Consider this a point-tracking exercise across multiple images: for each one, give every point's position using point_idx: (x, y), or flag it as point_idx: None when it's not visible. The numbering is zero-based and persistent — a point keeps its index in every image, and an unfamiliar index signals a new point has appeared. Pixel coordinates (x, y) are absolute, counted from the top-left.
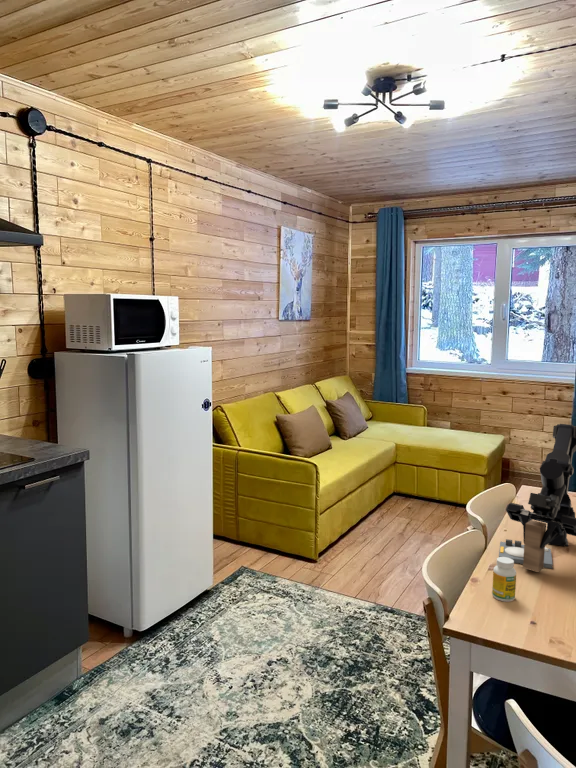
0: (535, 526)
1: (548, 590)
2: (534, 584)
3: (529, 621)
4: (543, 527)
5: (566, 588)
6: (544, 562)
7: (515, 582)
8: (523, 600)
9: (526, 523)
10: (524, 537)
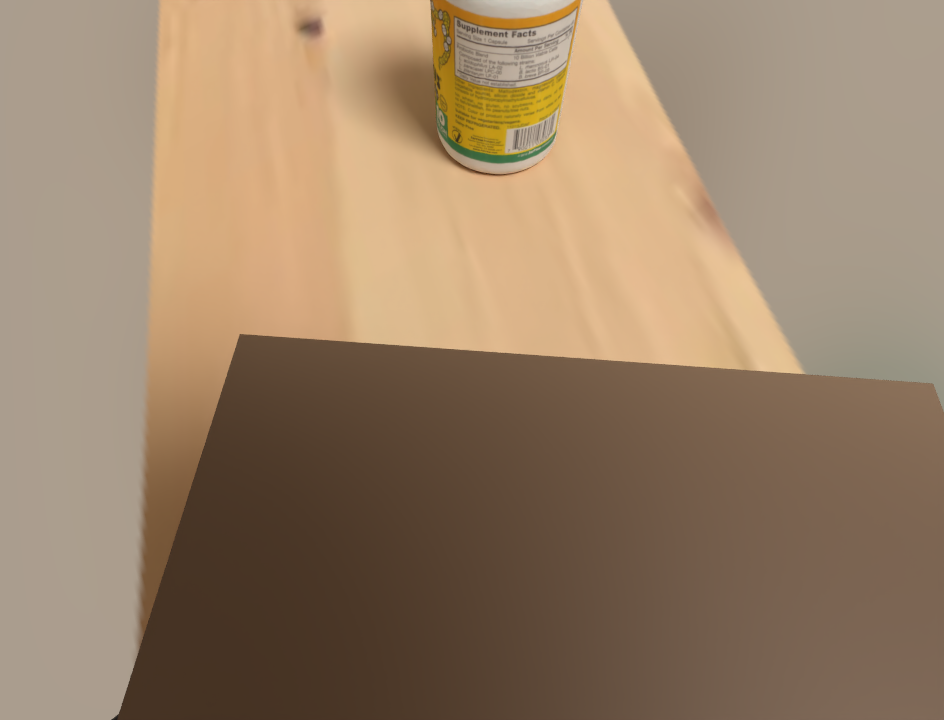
0: (470, 355)
1: None
2: None
3: (324, 28)
4: None
5: (166, 477)
6: None
7: (432, 32)
8: (397, 159)
9: (907, 399)
10: None
